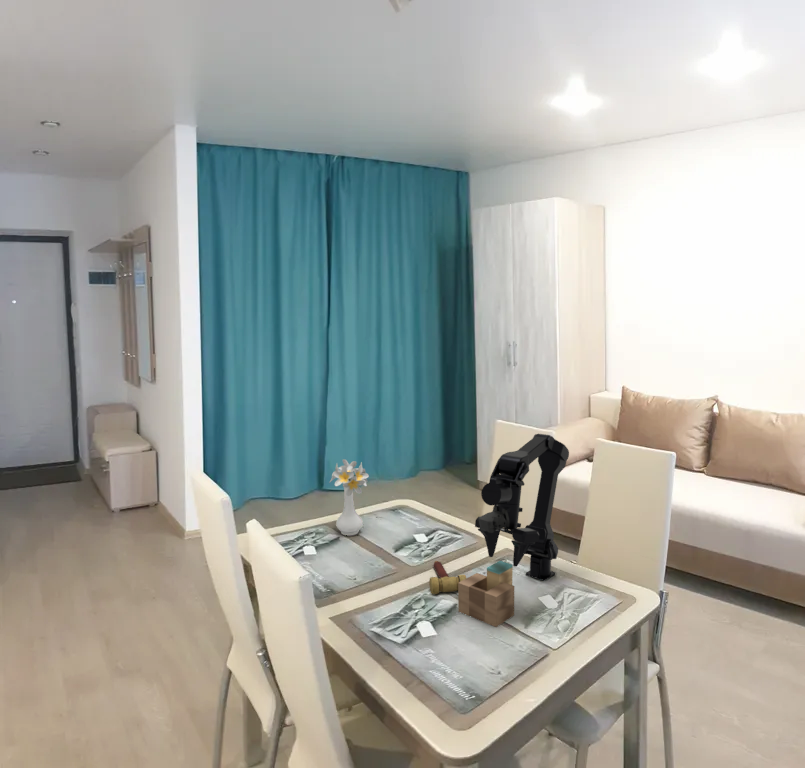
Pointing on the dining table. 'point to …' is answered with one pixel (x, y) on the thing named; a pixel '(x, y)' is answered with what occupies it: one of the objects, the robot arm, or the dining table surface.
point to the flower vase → (349, 496)
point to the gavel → (444, 580)
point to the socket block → (485, 600)
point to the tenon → (499, 574)
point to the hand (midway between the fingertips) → (502, 561)
